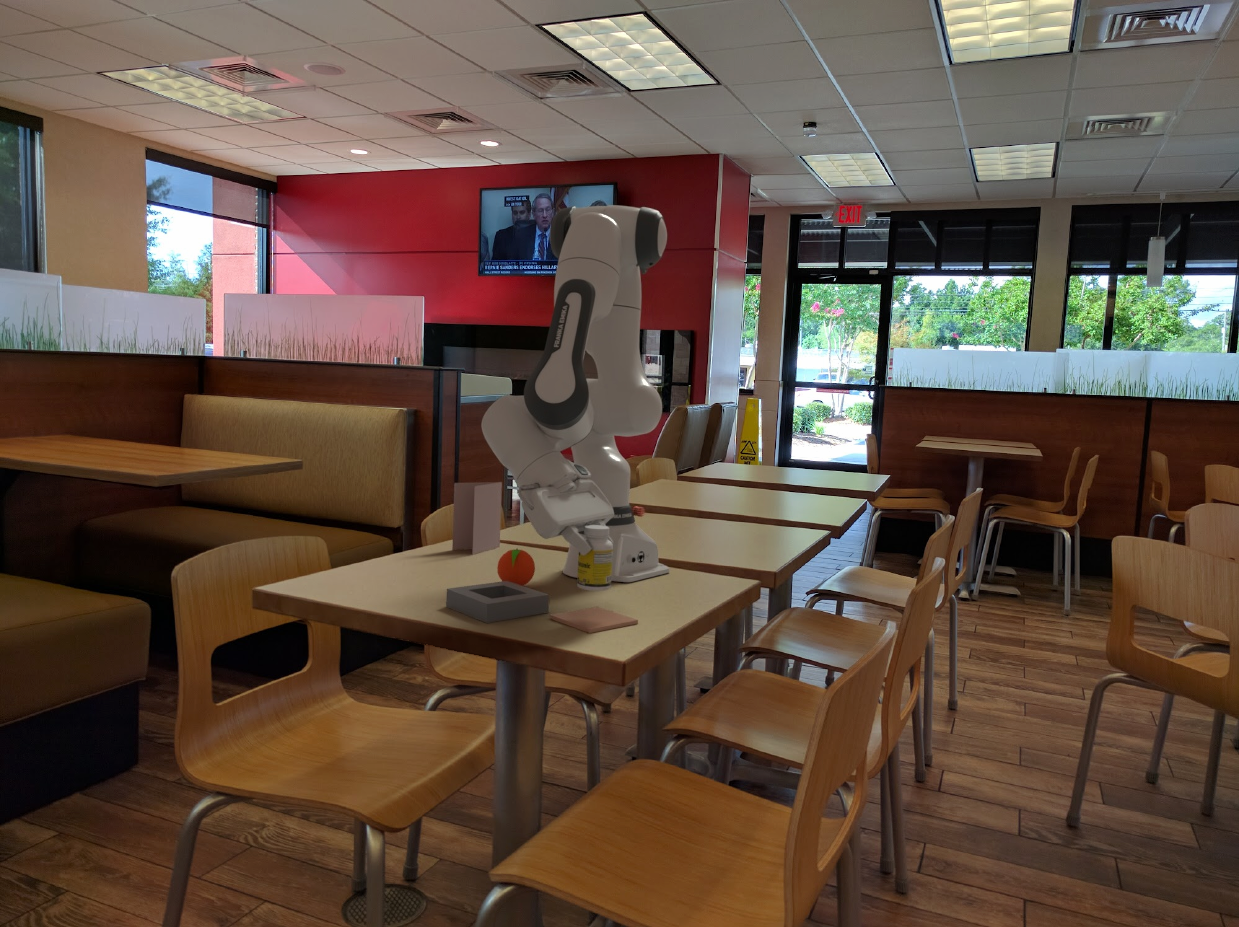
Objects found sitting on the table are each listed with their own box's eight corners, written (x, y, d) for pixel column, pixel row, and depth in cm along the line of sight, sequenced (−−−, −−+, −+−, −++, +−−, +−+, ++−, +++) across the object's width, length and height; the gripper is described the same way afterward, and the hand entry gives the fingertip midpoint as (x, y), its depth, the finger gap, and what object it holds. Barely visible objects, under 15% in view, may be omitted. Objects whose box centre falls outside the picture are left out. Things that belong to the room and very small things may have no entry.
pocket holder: (506, 597, 152) (507, 580, 152) (548, 612, 143) (549, 594, 143) (446, 606, 144) (446, 588, 144) (486, 623, 135) (487, 604, 135)
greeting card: (498, 546, 200) (500, 481, 199) (511, 552, 194) (514, 485, 193) (450, 549, 194) (452, 482, 193) (463, 555, 188) (465, 486, 187)
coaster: (597, 610, 146) (597, 606, 146) (637, 623, 139) (638, 620, 139) (549, 618, 140) (549, 614, 140) (589, 633, 132) (589, 629, 132)
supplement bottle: (571, 584, 140) (575, 524, 139) (603, 583, 142) (606, 524, 141) (583, 592, 135) (587, 529, 134) (616, 591, 137) (619, 529, 136)
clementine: (531, 593, 156) (532, 554, 156) (492, 591, 156) (494, 552, 156) (536, 583, 164) (537, 546, 164) (499, 581, 164) (501, 544, 164)
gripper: (526, 473, 131) (580, 545, 127) (591, 467, 149) (639, 530, 146) (500, 499, 133) (552, 571, 130) (567, 490, 152) (614, 553, 148)
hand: (599, 549), depth 138 cm, fingers closed on supplement bottle, 5 cm apart
